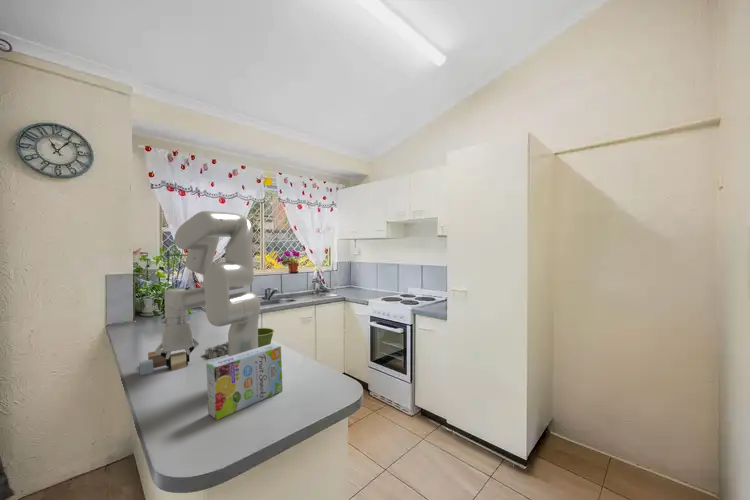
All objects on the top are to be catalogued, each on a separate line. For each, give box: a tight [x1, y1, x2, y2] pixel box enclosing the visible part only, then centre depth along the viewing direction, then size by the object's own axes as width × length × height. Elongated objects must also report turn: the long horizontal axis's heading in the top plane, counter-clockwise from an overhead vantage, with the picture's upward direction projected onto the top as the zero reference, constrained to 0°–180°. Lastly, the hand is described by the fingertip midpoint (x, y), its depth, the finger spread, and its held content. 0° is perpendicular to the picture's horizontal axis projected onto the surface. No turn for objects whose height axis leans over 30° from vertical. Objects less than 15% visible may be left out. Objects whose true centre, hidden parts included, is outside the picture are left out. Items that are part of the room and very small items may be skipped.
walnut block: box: [147, 349, 166, 369], centre depth 125 cm, size 6×6×5 cm
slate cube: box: [139, 359, 154, 376], centre depth 118 cm, size 4×4×4 cm
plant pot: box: [258, 327, 275, 348], centre depth 130 cm, size 12×12×11 cm
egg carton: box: [204, 341, 229, 359], centre depth 136 cm, size 11×8×4 cm
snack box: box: [205, 343, 283, 421], centre depth 94 cm, size 21×6×15 cm, turn 141°
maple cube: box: [170, 350, 187, 371], centre depth 122 cm, size 5×5×5 cm
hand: (178, 365), depth 122 cm, fingers closed on maple cube, 5 cm apart
